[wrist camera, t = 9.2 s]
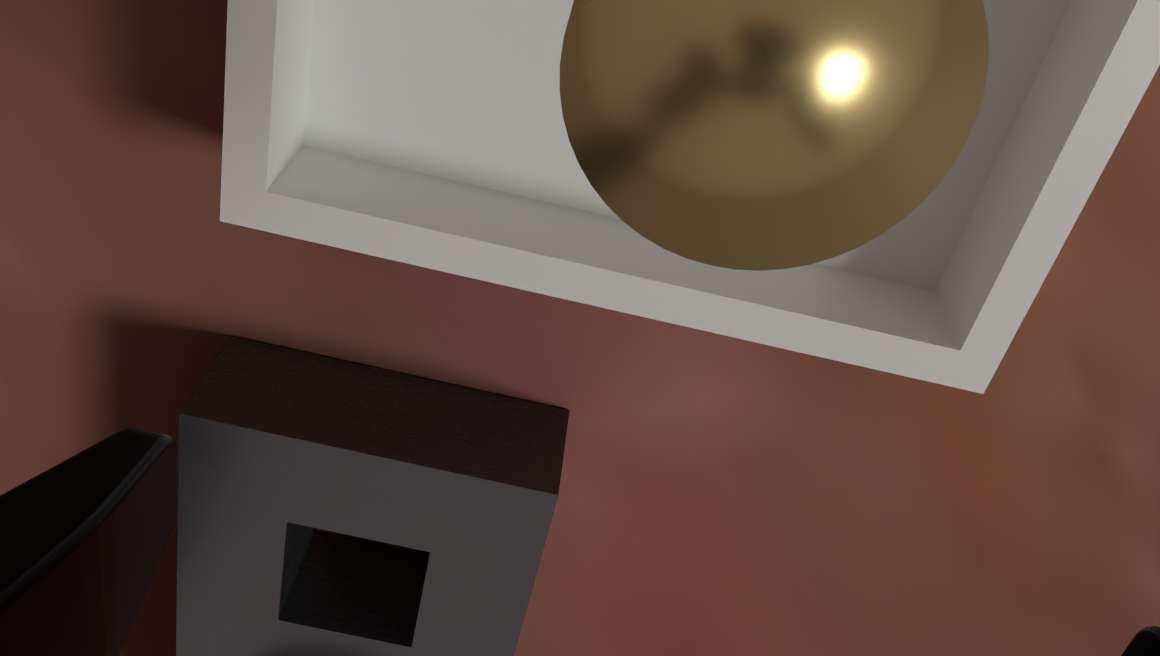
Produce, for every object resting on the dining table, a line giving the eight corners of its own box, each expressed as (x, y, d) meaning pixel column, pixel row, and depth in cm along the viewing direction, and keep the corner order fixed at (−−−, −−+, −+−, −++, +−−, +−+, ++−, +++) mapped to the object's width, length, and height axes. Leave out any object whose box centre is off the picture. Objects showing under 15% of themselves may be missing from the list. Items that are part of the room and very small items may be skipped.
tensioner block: (214, 714, 31) (156, 846, 28) (231, 335, 24) (154, 449, 20) (473, 766, 32) (449, 903, 28) (569, 410, 24) (553, 534, 21)
